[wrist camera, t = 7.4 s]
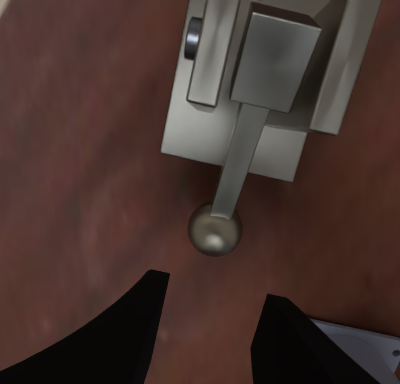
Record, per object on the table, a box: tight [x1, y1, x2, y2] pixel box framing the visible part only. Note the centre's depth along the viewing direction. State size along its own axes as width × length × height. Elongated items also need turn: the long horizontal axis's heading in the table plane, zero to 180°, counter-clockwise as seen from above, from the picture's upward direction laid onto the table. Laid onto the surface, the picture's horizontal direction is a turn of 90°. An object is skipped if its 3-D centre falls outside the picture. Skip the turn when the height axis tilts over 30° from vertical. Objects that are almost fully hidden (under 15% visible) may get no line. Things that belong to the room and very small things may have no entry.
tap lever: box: [188, 2, 322, 257], centre depth 14 cm, size 12×3×3 cm, turn 167°
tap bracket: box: [160, 0, 382, 182], centre depth 13 cm, size 10×8×9 cm
